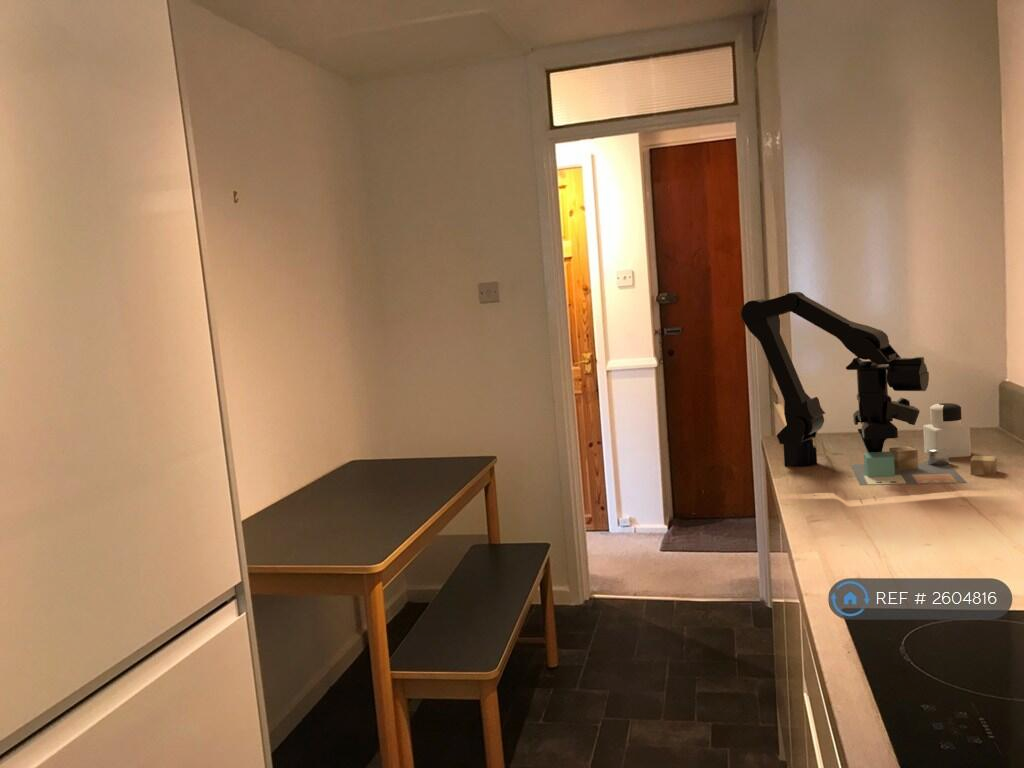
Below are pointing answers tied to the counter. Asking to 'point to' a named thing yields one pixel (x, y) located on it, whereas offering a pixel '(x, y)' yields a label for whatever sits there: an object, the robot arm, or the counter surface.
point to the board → (911, 475)
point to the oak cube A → (905, 458)
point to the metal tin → (938, 456)
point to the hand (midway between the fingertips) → (876, 464)
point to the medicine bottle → (947, 430)
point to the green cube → (879, 464)
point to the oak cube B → (983, 465)
